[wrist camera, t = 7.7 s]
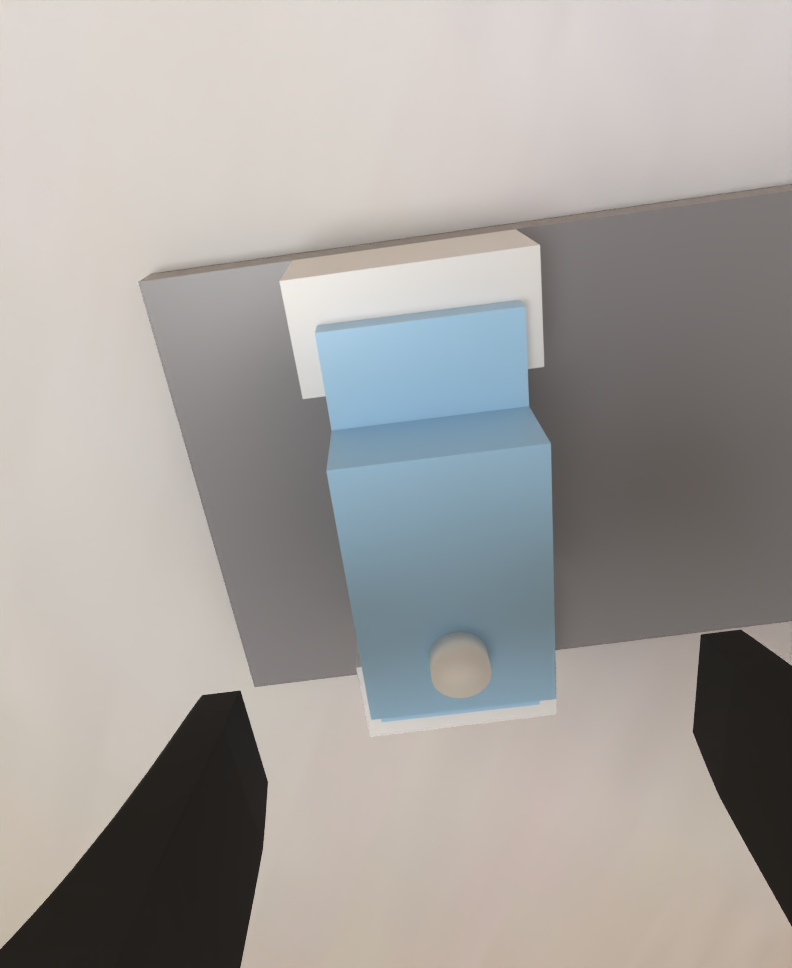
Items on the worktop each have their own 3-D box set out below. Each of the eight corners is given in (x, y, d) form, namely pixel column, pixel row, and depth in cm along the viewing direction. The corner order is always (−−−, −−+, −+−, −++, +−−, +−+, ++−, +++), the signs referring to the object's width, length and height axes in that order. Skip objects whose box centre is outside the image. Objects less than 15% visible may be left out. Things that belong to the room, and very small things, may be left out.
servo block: (498, 276, 16) (557, 341, 11) (516, 627, 20) (564, 787, 15) (324, 299, 16) (303, 373, 11) (380, 643, 20) (383, 807, 15)
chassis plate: (1006, 154, 16) (1160, 158, 13) (904, 584, 21) (996, 661, 18) (151, 274, 17) (99, 305, 13) (259, 664, 22) (240, 752, 19)
